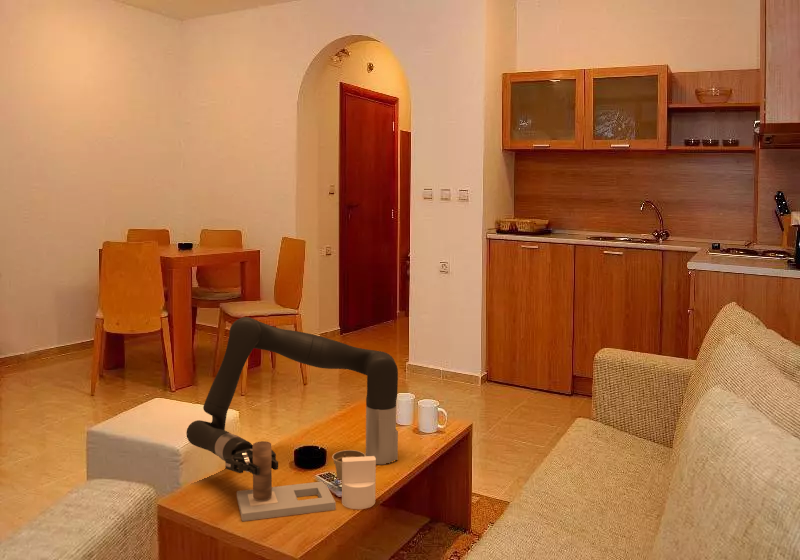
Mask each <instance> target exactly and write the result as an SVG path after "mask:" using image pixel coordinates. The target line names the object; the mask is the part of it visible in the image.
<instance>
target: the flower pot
mask: <svg viewBox="0 0 800 560" xmlns="http://www.w3.org/2000/svg"><path fill="white" fill-rule="evenodd" d="M346 457H366V453H365V452H362V451H360V450H354V449H344V450H339V451H336V452H335V453H333V454H332V456H331V458H332V460H333V463H334V466H335V471H336V472H335V473H336V479H337V478H339V479H340V480H342V458H346Z"/></svg>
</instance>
